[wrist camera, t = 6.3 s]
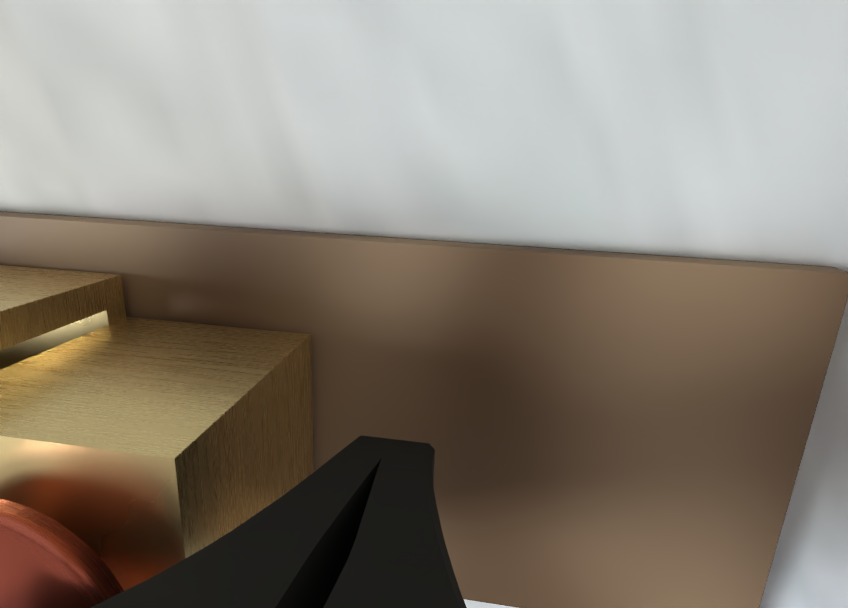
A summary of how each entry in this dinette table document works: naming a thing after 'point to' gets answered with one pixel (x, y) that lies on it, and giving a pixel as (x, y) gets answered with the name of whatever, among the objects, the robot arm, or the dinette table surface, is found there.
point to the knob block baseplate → (524, 388)
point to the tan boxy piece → (132, 436)
